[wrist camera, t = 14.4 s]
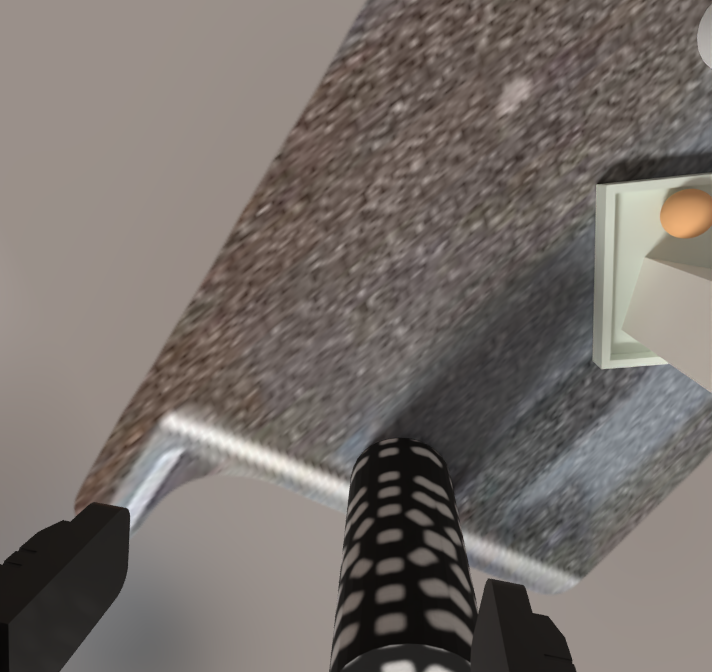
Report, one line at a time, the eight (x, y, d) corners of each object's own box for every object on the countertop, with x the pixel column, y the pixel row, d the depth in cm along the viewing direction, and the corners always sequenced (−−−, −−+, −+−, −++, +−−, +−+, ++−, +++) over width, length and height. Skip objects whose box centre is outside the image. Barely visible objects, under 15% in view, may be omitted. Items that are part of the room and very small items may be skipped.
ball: (654, 186, 37) (678, 197, 34) (704, 181, 36) (732, 191, 34) (648, 233, 38) (670, 247, 35) (696, 228, 38) (722, 242, 35)
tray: (596, 184, 38) (606, 185, 36) (751, 168, 37) (769, 168, 35) (592, 360, 42) (601, 369, 40) (733, 349, 41) (748, 357, 39)
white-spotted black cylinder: (364, 532, 47) (350, 781, 28) (339, 449, 45) (305, 658, 26) (459, 514, 46) (512, 760, 27) (438, 428, 44) (479, 630, 25)
